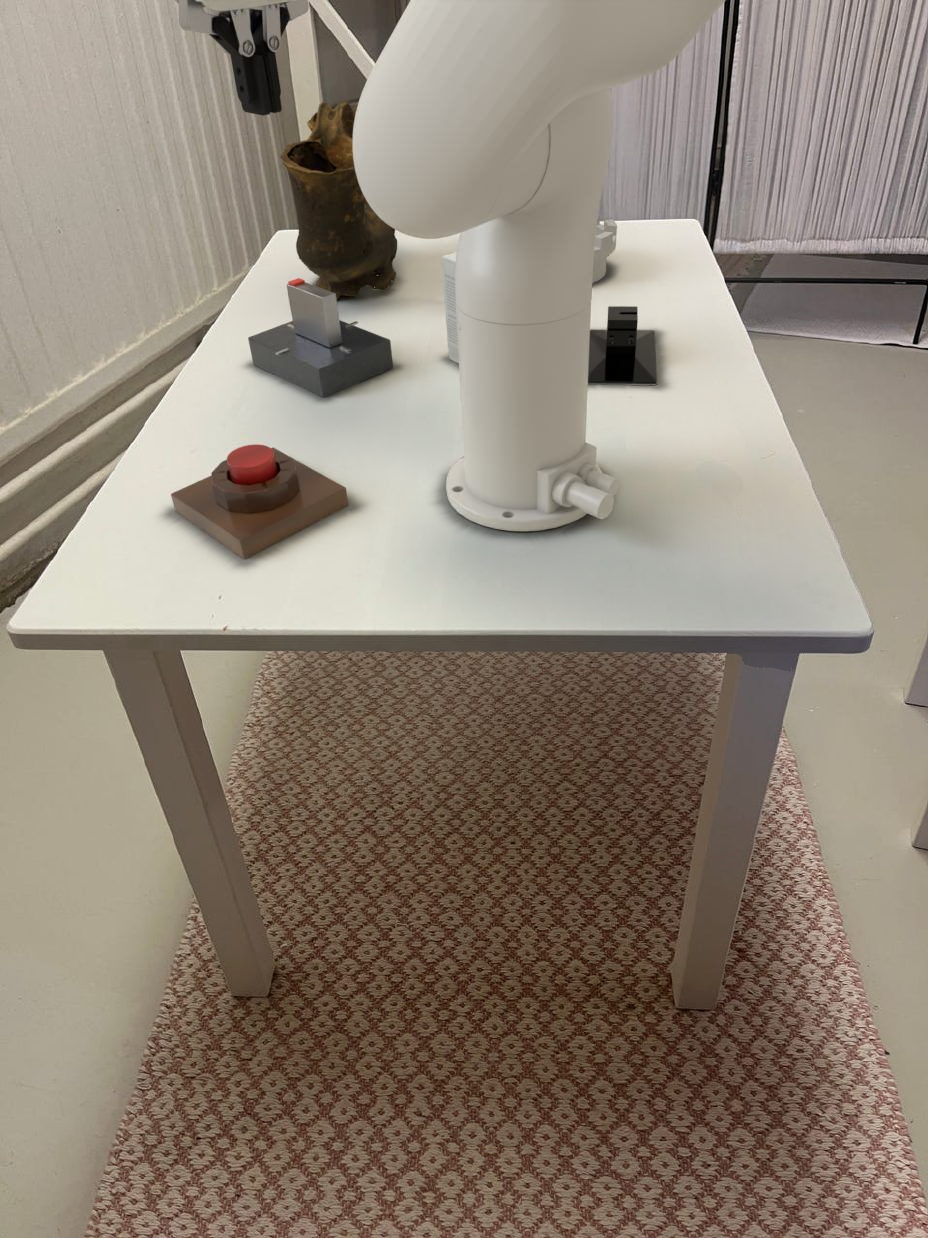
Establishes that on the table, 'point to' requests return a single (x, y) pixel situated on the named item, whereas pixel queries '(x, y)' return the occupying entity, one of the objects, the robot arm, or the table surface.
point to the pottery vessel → (337, 209)
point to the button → (252, 464)
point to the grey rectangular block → (314, 313)
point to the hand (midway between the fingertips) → (262, 111)
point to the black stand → (622, 351)
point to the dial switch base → (321, 357)
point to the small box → (450, 304)
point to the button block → (259, 505)
